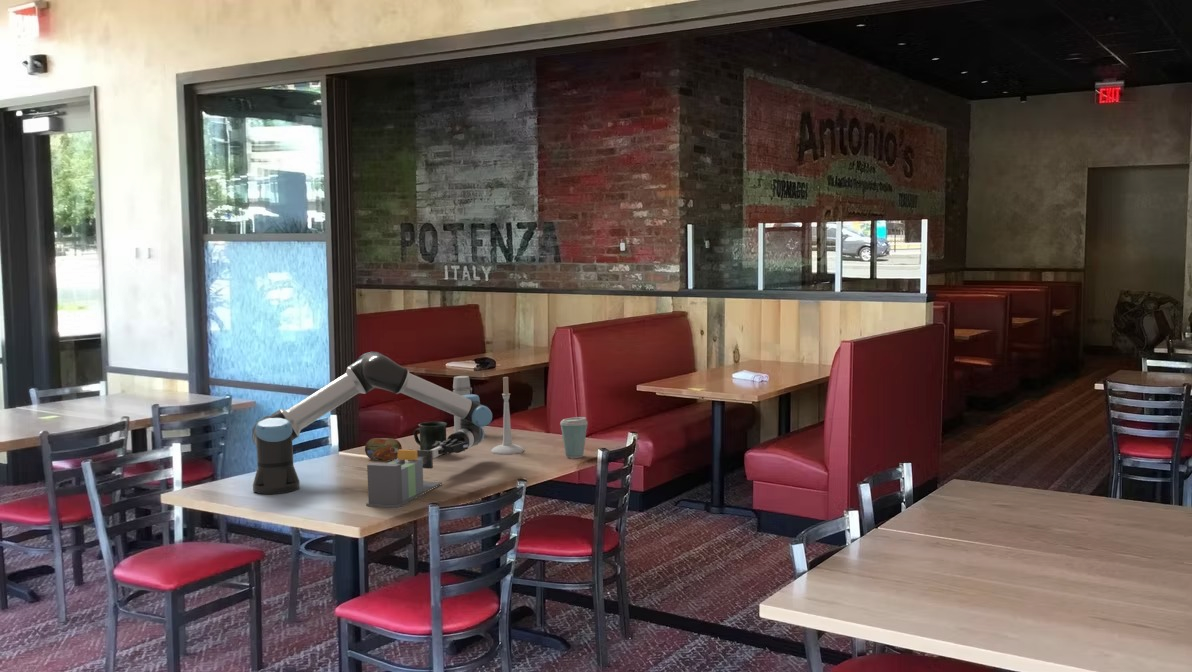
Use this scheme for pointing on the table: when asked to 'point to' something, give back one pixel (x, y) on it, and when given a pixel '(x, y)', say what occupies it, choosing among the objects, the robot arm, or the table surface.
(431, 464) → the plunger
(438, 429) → the mug
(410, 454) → the orange rectangular plank
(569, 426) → the disposable coffee cup
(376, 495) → the grey stepped block
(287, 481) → the robot arm
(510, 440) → the candlestick
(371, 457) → the tin
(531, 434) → the table surface
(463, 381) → the water bottle
